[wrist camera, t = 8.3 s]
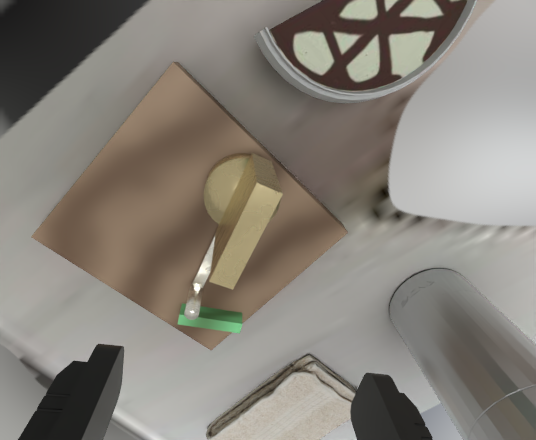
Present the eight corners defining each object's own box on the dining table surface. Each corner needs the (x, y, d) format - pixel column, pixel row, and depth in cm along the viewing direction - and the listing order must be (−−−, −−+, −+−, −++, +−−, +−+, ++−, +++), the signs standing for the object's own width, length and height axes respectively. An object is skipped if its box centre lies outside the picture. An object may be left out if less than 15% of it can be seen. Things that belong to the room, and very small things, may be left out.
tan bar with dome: (225, 134, 26) (219, 166, 17) (293, 166, 27) (316, 208, 19) (163, 280, 31) (136, 357, 22) (224, 300, 32) (219, 378, 24)
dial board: (341, 223, 32) (353, 240, 29) (212, 336, 37) (209, 362, 34) (177, 62, 25) (168, 61, 22) (43, 226, 30) (19, 246, 27)
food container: (282, 120, 28) (303, 145, 19) (249, 45, 25) (255, 32, 16) (422, 49, 26) (518, 40, 17) (402, -37, 24) (502, -102, 15)
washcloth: (365, 388, 43) (374, 411, 41) (268, 456, 48) (270, 480, 45) (304, 344, 39) (309, 366, 37) (205, 423, 44) (203, 447, 41)
